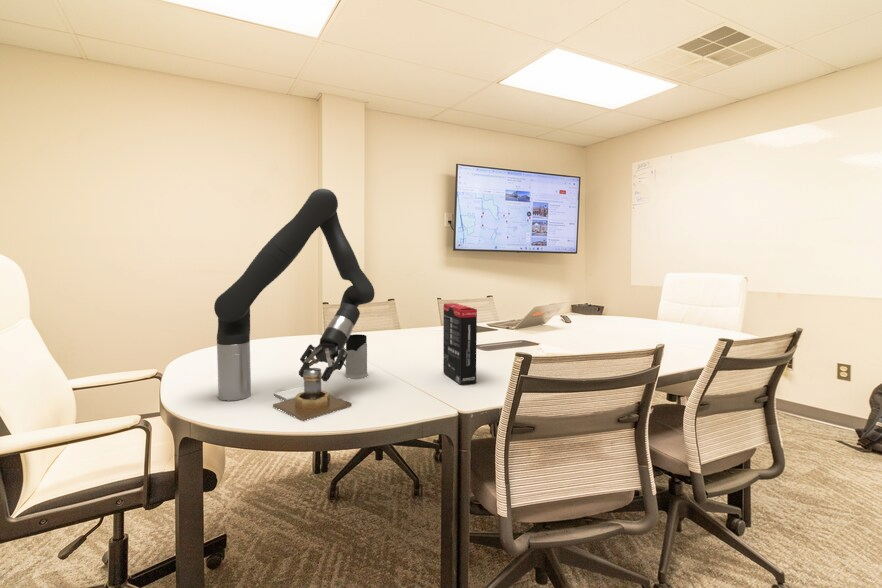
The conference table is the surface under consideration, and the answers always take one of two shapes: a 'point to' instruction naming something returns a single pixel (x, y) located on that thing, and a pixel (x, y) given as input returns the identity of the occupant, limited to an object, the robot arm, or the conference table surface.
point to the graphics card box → (460, 343)
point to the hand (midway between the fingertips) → (312, 378)
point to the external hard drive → (289, 393)
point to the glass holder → (356, 357)
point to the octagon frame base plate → (311, 405)
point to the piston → (312, 383)
